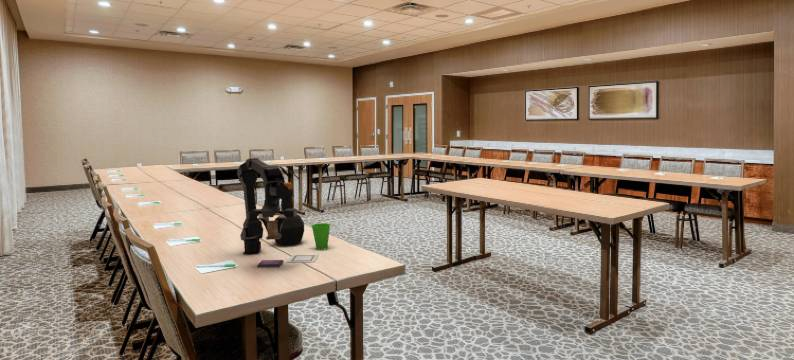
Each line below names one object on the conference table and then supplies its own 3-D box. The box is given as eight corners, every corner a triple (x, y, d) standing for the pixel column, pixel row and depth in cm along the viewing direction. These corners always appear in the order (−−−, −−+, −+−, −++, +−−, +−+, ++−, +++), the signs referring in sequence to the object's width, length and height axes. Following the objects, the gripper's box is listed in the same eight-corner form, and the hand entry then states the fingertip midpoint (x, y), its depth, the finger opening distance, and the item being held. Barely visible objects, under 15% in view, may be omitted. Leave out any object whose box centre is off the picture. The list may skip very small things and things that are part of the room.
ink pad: (257, 267, 200) (257, 264, 200) (262, 262, 207) (262, 259, 207) (279, 266, 200) (279, 264, 200) (283, 262, 207) (283, 259, 207)
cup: (327, 250, 224) (326, 227, 222) (309, 250, 225) (308, 226, 224) (334, 245, 232) (333, 223, 231) (316, 245, 234) (315, 222, 233)
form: (286, 262, 206) (286, 261, 206) (292, 255, 217) (292, 254, 217) (314, 262, 205) (314, 261, 205) (319, 255, 216) (319, 254, 216)
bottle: (310, 244, 236) (307, 183, 233) (276, 249, 228) (273, 185, 225) (299, 237, 250) (297, 179, 246) (267, 242, 242) (264, 182, 238)
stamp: (266, 239, 201) (265, 222, 200) (269, 236, 206) (269, 220, 205) (278, 239, 200) (277, 222, 200) (281, 236, 205) (280, 220, 204)
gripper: (243, 199, 193) (245, 238, 195) (289, 199, 193) (291, 237, 194) (252, 195, 204) (254, 232, 206) (296, 195, 204) (297, 231, 205)
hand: (273, 233), depth 203 cm, fingers closed on stamp, 4 cm apart
